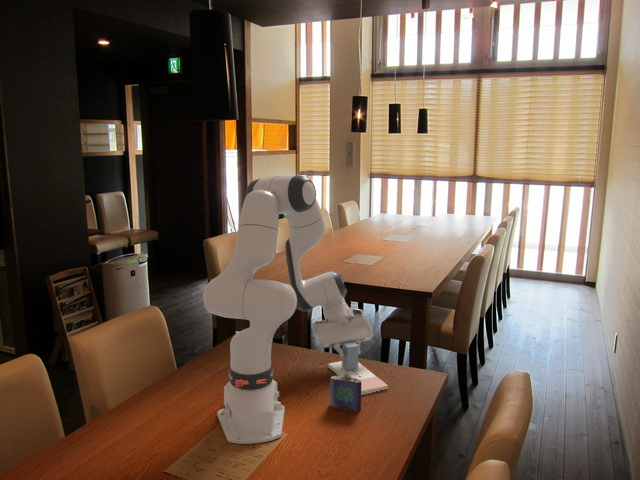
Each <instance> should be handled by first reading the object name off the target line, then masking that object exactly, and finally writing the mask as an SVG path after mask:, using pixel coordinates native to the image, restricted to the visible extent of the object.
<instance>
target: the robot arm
mask: <svg viewBox="0 0 640 480" xmlns="http://www.w3.org/2000/svg"><path fill="white" fill-rule="evenodd" d="M244 197H245V198H244V201H243V203H242V207H241V211H240V214H239V220H238V226H237V234H236V239H235V240H236V241H235V245H234V251H233V252H232V253H233V254H232V257H231V258H230V260H229V263H227V266H226V267H225V268H224V269H223V270H222V271H221V273H219V274H218V275H217V276H216V277H214V278H213V279H211V280H210V281H209V282H208V283H207V285H206V286H205V288H204V291H203V293H202V295H203V296H202V298H203V301H202V302H203V305H204V307H205V309H206V311H207V312H208V313H210V314H212V315H215V316H218V317H223V318H226V319H227V318H228V319H236V320H237V319H239V320H247V321H249V327H248V328H244V329H242V330H241V331H239V332H237V333H235V334H234V335H233V337H232V338H231V340H230V344H229V345H230V346H229V347H230V348H229V350H230V357H229V358H230V359H229V360H230V365H229V367H228V380H229V381H228V382H227V383H226V384H225V385H224V387H223V395H224V396H223V408H221V409H219V410H218V411H217V415H216V416H217V418H218V421H219V424H220V426H221V428H222V431H223V433H224V436H225V438H226V440H227V442H229V443H232V444H238V445H239V444H241V445H242V444H243V445H246V444H260V443H266V442H270V441H273V440H274V441H275V440H276V439H280V438H281V436H282V433H283V426H284V418H285V411H286V409H285V406H284V405H283V404H282V402H281V401H278V397H280V391H278V382H277V381H276V380H274V378H273V377H274V376H273V374H274V371H273V370H274V369H273V364H272V361H271V359H272V344H273V338H274V335H275V333H276V331H277V329H278V328H280V326H281V325H282V324H283V323H284V322H286V321H288V320H289V319H290V318H291V317H292V316H293V315H294V314H295V312H296V309H297V310H298V311H301V312H308V311H310V310H312V309H314V308H317V307H320V306H321V307H322V311H323V312H322V313H323V316H324V319H321V320H316V321H314V322H313V323H312V324H311V328H312V331H313V333H314V337H315V342H316V346H317V347H318V348H319V349H326V348H330V347H331V348H332V347H333V349H334V350H335V351H336V352H337V353H338V354H339V356H340V358H341V359H342V357H345V356H346V353H345V350H344V351H343V350H342V347H341V346H342V343H346V342H352V341H353V342H354V343H356V344H357V345H358V346H359V351H358V356H359V355H360V354H361V353H362V352H361V349H360V347H361V342H367V341H370V340H371V339H372V338H373V336H374V331H373V328H372V326H371V325H372V324H370V321H369V319H368V318H366V317H364V316H365V312H364V310H363V309H359V308H358V309H357V308H353V307H350V306H349V305H348V304H347V303H346V300H345V297H346V295H347V292H348V288H346V285H345V283H344V277H343V275H342V274H340V273H338V272H336V271H334V270H333V271H328V272H324V273H322V274H319V275H316V276H314V277H311V278H307V279H303V278H302V274H301V273H302V272H301V266H300V264H301V263H300V262H301V259H302V258H303V257H304V256H305V255H306V254H307V253H308V252H310V250H312V249H313V248H315V247H316V246H317V245H318V244H319V243H320V242H321V241H322V239H323V237H324V235H325V233H326V225H325V224H326V223H325V219H324V215H323V213H322V210H321V206H320V204H319V202H318V199H317V190H316V186H315V184H314V183H313V181H312V180H311V179H310V178H309V177H307V176H305V175H304V176H303V175H297V174H296V175H294V176H293V175H291V176H290V175H288V176H287V175H284V176H282V175H275V176H269V177H265V178H258V179H255V180H253V181H251V182H250V183H248V186H247V187H246V190H245V196H244ZM284 214H285V216H286V220H287V222H288V227H289V238H288V239H287V240H286V241H285V244H284V245H285V246H284V248H285V256H286V258H285V259H286V265H287V272H288V277H289V278H288V279H289V283H290V284H289V283H284V282H281V281H278V280H271V279H257V278H256V279H255V278H253V277H254V275H255V273H256V271H257V270H259V269H260V268H263V267H265V266H267V265H269V264H270V263H271V262H273V260H274V259H275V257H276V253H277V252H276V251H277V244H278V242H277V241H278V235H279V226H280V225H279V221H280V219H279V218H280V215H284Z"/></svg>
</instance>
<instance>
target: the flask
mask: <svg viewBox="0 0 640 480" xmlns="http://www.w3.org/2000/svg"><path fill="white" fill-rule="evenodd" d="M348 373H349V372H345V373H344V374H343V375H344V377H342V376H338V375H332V376H331V377H330V379H329V383H330V384H329V385H330V387H329V388H330V389H329V406H330V407H331V408H335V409H340V410H348V411H354V412H359V411H361V409H362V395H361V385H362V384H361V380H360V379H357V378H352V377H351V376H350V375H348Z"/></svg>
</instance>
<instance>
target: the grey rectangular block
mask: <svg viewBox="0 0 640 480" xmlns="http://www.w3.org/2000/svg"><path fill="white" fill-rule="evenodd" d="M341 349H342V350H343V351H344V350H345V353H346V356H345V357H342V358H341V361H342V366H343V367H344V368H345V369H346V370H353V369H358V362H359V355H358V351H359V346H358V345H357V344H356V343H354V342H353V341H352V342H346V343H342V345H341Z"/></svg>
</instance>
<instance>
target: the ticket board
mask: <svg viewBox="0 0 640 480" xmlns="http://www.w3.org/2000/svg"><path fill="white" fill-rule="evenodd" d="M327 367H328V368H329V369H330V371H332V372H334V374H335V375H336V376H342V377H344V375H343V374H344V373H345V372H349V373H348V375H350V376H351V377H352V378H357V379H360V380H361V384H362V385H361V396H363V395H368V394H373V392H374V393H377V392H376V391H378V392H381V391H380V390H383V391H385V390H384V389H389V385H388V384H387V383H386V382H384V381H383V380H382V379H381V378H380V377H378V376H376V375H375V374H374V373H372V372H371V371H370V370H369V369H368V368H367V367H365V365H363V364H361V363H360V361H358V369H353V370H346V369H345V368H344V367H343V366H342V360H340V361H334V362H330V363H328V366H327Z"/></svg>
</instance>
